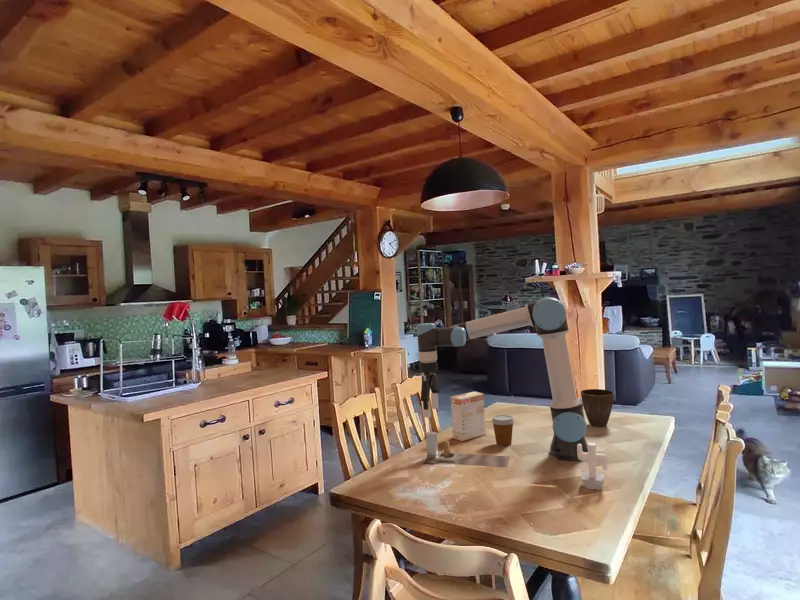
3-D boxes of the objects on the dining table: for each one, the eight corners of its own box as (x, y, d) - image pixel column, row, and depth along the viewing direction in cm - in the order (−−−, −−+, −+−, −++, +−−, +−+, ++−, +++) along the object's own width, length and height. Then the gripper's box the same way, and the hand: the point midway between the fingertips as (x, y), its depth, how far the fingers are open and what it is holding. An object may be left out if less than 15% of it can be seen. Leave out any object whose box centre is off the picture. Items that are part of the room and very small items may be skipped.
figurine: (608, 492, 165) (606, 447, 165) (577, 489, 169) (576, 445, 168) (608, 484, 172) (606, 441, 171) (579, 481, 175) (577, 439, 175)
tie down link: (459, 455, 207) (457, 431, 206) (455, 462, 199) (453, 437, 198) (430, 453, 210) (429, 430, 210) (425, 460, 202) (424, 435, 202)
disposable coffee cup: (490, 447, 216) (489, 419, 216) (495, 440, 225) (493, 414, 224) (513, 449, 212) (511, 421, 212) (516, 442, 221) (515, 415, 221)
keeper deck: (509, 457, 202) (509, 438, 202) (507, 468, 191) (506, 448, 191) (430, 453, 212) (429, 435, 212) (423, 463, 201) (422, 444, 201)
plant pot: (590, 419, 251) (589, 387, 251) (620, 424, 240) (619, 391, 240) (576, 426, 241) (574, 393, 240) (606, 431, 230) (605, 397, 230)
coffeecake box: (476, 431, 240) (474, 391, 240) (486, 434, 234) (484, 393, 234) (451, 438, 232) (449, 396, 232) (461, 441, 226) (459, 398, 226)
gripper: (426, 356, 218) (429, 405, 218) (410, 366, 194) (413, 420, 194) (443, 356, 215) (446, 405, 216) (429, 366, 192) (432, 421, 192)
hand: (431, 412), depth 205 cm, fingers open, 13 cm apart
